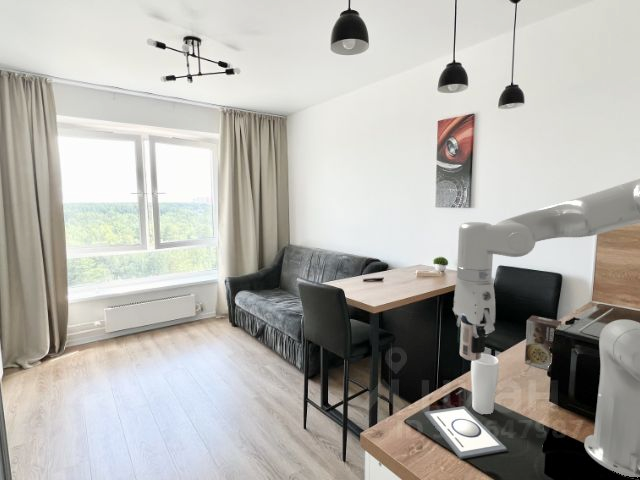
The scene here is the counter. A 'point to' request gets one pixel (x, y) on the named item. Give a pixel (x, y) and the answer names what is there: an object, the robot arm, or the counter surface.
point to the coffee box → (539, 341)
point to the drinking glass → (484, 383)
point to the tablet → (464, 432)
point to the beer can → (467, 340)
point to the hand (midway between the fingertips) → (470, 346)
